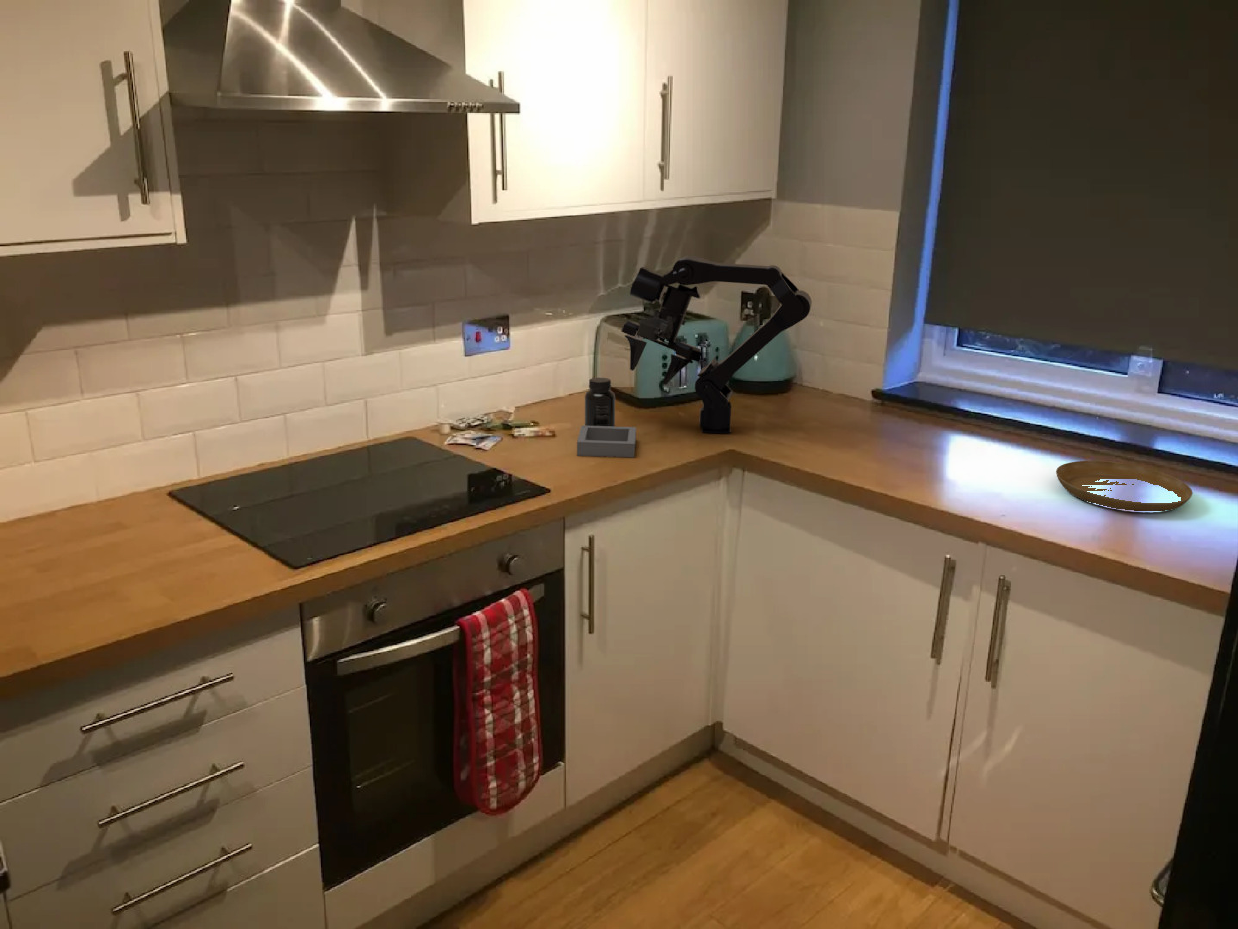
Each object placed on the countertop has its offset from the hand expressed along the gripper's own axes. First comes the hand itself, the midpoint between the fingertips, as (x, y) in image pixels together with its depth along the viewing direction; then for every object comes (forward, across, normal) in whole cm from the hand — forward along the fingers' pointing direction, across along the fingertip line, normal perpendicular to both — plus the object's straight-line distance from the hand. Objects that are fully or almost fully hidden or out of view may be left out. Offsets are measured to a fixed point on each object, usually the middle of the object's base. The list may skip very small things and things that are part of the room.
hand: (647, 377), depth 235 cm
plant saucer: (-13, +97, +21) cm, 100 cm away
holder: (+16, +4, -13) cm, 21 cm away
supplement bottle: (+15, -4, -4) cm, 17 cm away
